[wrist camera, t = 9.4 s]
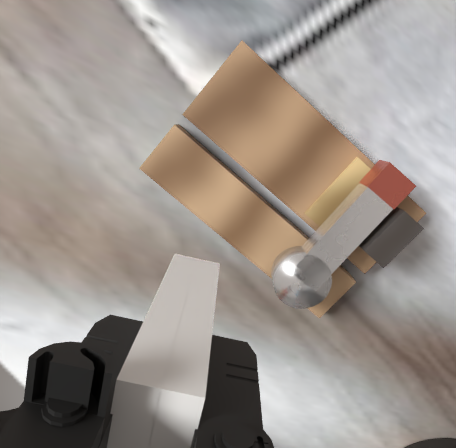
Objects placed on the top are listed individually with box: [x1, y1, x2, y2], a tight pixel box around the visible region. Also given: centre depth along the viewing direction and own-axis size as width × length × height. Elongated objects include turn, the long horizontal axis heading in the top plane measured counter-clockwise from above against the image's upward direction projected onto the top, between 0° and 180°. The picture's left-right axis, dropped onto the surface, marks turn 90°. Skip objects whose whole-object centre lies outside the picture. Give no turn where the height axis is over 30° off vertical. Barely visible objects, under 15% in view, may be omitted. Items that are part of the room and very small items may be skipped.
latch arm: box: [271, 160, 416, 309], centre depth 30 cm, size 13×4×2 cm, turn 141°
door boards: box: [139, 41, 426, 318], centre depth 32 cm, size 20×12×6 cm, turn 49°
